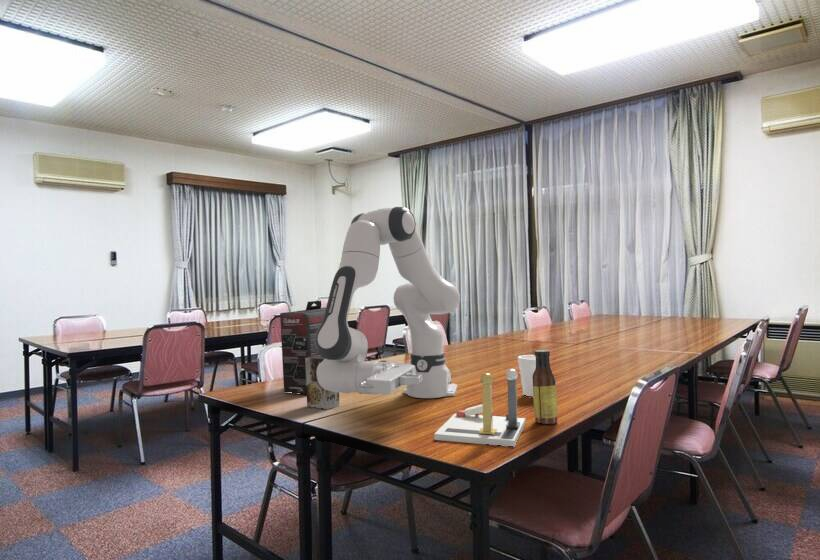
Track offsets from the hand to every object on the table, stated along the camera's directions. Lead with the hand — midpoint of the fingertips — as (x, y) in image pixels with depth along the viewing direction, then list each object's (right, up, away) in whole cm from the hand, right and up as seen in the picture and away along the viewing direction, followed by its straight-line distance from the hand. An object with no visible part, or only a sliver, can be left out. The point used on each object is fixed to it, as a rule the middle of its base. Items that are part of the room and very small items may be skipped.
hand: (420, 379), depth 135 cm
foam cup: (+39, -13, +39) cm, 56 cm away
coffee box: (-31, -15, +31) cm, 46 cm away
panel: (+16, -14, 0) cm, 21 cm away
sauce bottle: (+35, -13, +7) cm, 38 cm away
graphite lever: (+24, -12, -2) cm, 27 cm away
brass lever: (+17, -12, -6) cm, 22 cm away
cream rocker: (+16, -11, +8) cm, 21 cm away
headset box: (-39, -15, +60) cm, 73 cm away
